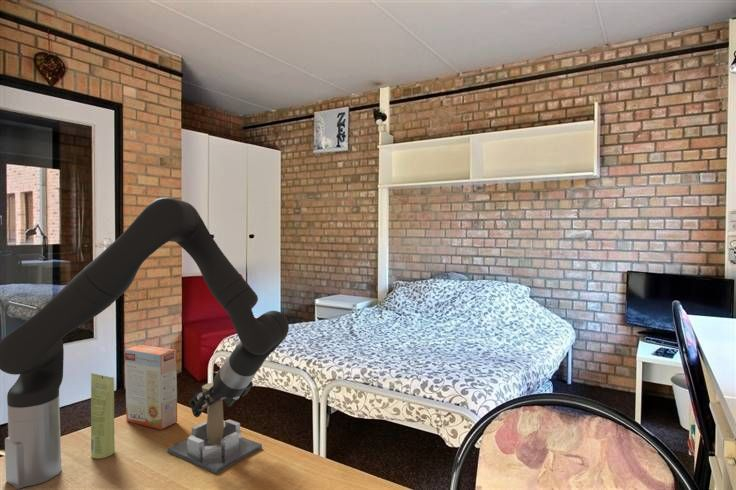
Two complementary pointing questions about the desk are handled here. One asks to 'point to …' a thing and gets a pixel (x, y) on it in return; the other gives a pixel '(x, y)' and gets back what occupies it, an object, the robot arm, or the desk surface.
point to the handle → (214, 420)
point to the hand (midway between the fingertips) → (211, 408)
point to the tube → (102, 416)
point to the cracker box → (151, 386)
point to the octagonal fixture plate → (215, 448)
